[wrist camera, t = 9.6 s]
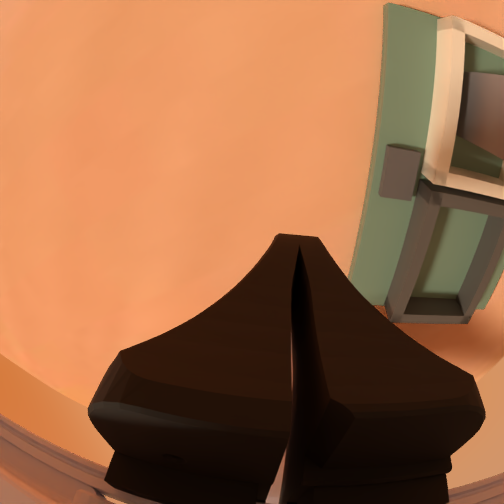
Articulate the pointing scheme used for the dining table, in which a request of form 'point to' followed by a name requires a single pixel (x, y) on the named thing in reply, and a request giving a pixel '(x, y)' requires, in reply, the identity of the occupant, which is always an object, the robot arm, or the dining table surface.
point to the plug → (482, 111)
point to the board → (430, 177)
